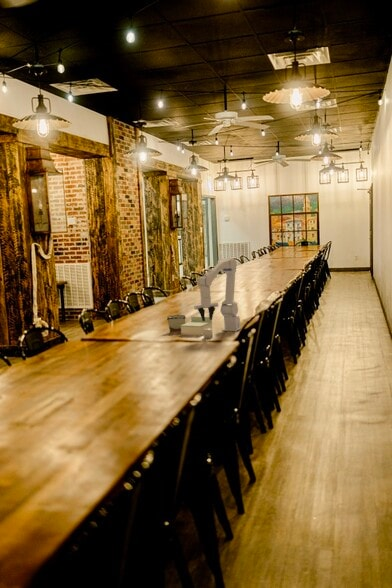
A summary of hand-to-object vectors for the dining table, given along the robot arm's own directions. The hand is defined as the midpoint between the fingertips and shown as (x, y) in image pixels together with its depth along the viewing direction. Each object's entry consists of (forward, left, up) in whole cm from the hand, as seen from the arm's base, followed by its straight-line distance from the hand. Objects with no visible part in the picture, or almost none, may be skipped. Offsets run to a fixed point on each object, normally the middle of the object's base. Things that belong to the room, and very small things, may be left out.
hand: (207, 320), depth 323 cm
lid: (+14, -11, -5) cm, 19 cm away
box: (+14, -11, -10) cm, 21 cm away
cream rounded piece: (0, 0, -10) cm, 10 cm away
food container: (+29, -13, -11) cm, 33 cm away
